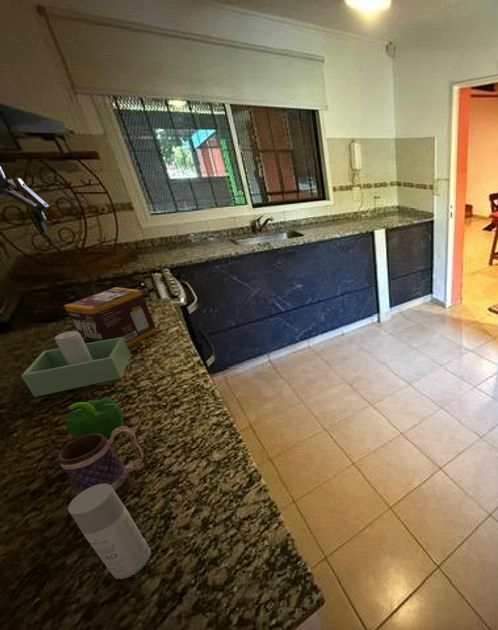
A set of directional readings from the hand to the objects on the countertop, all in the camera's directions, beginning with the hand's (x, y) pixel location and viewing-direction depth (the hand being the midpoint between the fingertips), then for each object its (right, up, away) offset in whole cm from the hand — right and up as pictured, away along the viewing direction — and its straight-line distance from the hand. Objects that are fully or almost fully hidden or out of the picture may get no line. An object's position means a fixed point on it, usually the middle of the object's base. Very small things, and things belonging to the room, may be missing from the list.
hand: (16, 234), depth 108 cm
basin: (+36, -42, -13) cm, 57 cm away
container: (+84, -64, -56) cm, 120 cm away
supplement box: (+32, -34, +3) cm, 47 cm away
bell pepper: (+59, -52, -33) cm, 86 cm away
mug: (+72, -58, -44) cm, 103 cm away
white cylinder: (+36, -42, -14) cm, 56 cm away
